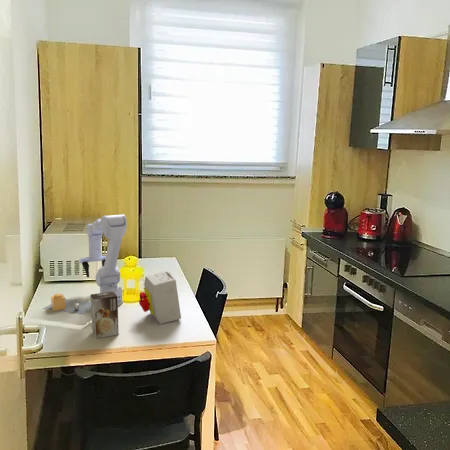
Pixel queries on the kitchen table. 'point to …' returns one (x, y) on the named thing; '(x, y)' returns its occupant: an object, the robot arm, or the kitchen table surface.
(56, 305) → the light orange block
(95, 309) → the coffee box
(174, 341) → the kitchen table surface
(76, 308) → the pigtail posts
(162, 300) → the electrical switch box
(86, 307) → the terminal board
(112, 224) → the robot arm
